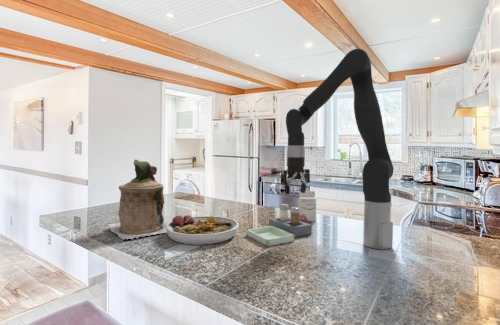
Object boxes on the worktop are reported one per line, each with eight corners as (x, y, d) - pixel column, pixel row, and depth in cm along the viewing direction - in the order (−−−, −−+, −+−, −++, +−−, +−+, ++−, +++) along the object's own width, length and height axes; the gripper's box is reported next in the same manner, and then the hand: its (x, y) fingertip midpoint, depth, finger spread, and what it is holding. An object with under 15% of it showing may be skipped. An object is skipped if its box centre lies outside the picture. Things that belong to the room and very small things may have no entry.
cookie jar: (122, 242, 117) (120, 161, 115) (106, 229, 136) (104, 159, 134) (180, 231, 132) (179, 159, 131) (158, 220, 151) (157, 158, 150)
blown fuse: (301, 233, 129) (301, 208, 129) (294, 234, 127) (294, 209, 127) (295, 231, 133) (295, 206, 132) (288, 232, 131) (288, 207, 130)
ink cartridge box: (299, 220, 151) (299, 192, 150) (298, 218, 156) (298, 190, 155) (316, 221, 150) (316, 192, 149) (315, 219, 155) (315, 191, 154)
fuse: (290, 228, 136) (290, 205, 135) (283, 230, 134) (283, 206, 133) (284, 226, 139) (285, 203, 139) (277, 228, 137) (278, 204, 137)
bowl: (246, 229, 137) (246, 212, 136) (223, 251, 108) (223, 229, 108) (187, 224, 145) (187, 208, 145) (151, 243, 116) (151, 224, 116)
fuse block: (311, 233, 128) (311, 224, 128) (293, 237, 123) (293, 227, 123) (286, 224, 144) (286, 216, 143) (268, 227, 139) (268, 218, 138)
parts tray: (294, 241, 118) (294, 234, 118) (267, 246, 112) (267, 240, 112) (271, 231, 132) (271, 225, 132) (246, 235, 126) (246, 229, 125)
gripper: (287, 156, 121) (287, 196, 122) (314, 156, 128) (313, 193, 129) (277, 156, 128) (276, 193, 129) (302, 155, 135) (302, 191, 136)
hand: (295, 193), depth 129 cm, fingers open, 8 cm apart
